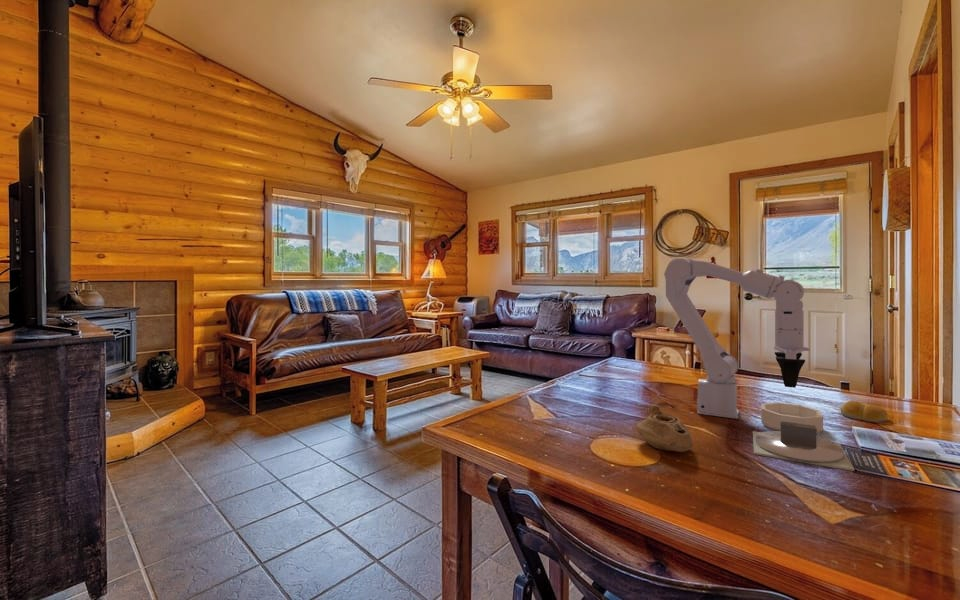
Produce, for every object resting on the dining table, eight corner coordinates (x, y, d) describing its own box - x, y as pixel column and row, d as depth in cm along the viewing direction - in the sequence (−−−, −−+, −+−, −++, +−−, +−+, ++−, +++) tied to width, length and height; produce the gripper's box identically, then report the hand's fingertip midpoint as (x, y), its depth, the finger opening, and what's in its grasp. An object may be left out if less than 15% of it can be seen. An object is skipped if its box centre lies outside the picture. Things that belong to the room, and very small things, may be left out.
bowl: (762, 429, 103) (762, 412, 103) (760, 415, 113) (760, 400, 113) (825, 438, 97) (825, 420, 97) (817, 422, 107) (817, 406, 107)
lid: (756, 453, 88) (756, 429, 88) (755, 431, 101) (755, 410, 101) (851, 469, 80) (851, 443, 80) (836, 442, 93) (837, 420, 93)
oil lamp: (671, 465, 84) (671, 426, 84) (625, 438, 99) (625, 404, 98) (715, 458, 87) (715, 420, 87) (664, 433, 102) (664, 400, 101)
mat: (753, 454, 89) (753, 452, 89) (752, 432, 101) (752, 431, 101) (854, 471, 81) (854, 469, 81) (840, 445, 92) (840, 444, 92)
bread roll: (885, 425, 105) (886, 409, 104) (838, 417, 111) (839, 402, 111) (889, 418, 110) (890, 402, 110) (844, 410, 117) (845, 396, 117)
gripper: (812, 332, 97) (812, 392, 97) (806, 326, 109) (806, 379, 109) (774, 331, 100) (775, 388, 101) (773, 325, 113) (773, 376, 113)
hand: (789, 383), depth 105 cm, fingers open, 7 cm apart
